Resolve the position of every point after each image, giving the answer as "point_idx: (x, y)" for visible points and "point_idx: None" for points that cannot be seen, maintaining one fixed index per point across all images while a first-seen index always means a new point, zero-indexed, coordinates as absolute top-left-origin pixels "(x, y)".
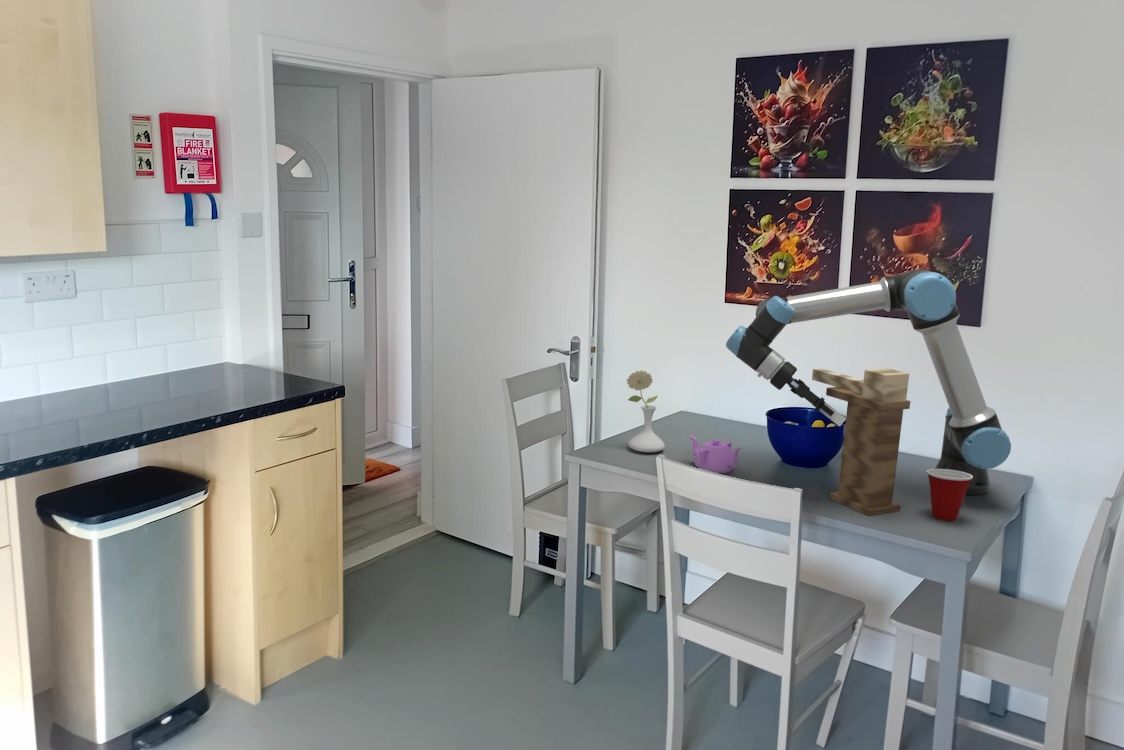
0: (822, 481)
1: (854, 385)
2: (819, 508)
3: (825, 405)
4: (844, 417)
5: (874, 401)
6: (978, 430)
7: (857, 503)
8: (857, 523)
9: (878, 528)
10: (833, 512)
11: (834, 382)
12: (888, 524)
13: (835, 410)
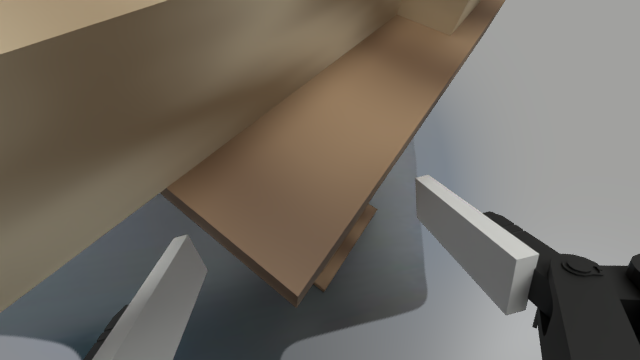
0: (201, 334)
1: (339, 5)
2: (395, 297)
3: (558, 254)
4: (433, 180)
5: (495, 5)
6: None
7: (354, 230)
8: (419, 224)
9: (415, 196)
10: (397, 268)
11: (84, 194)
12: (389, 186)
13: (470, 207)
